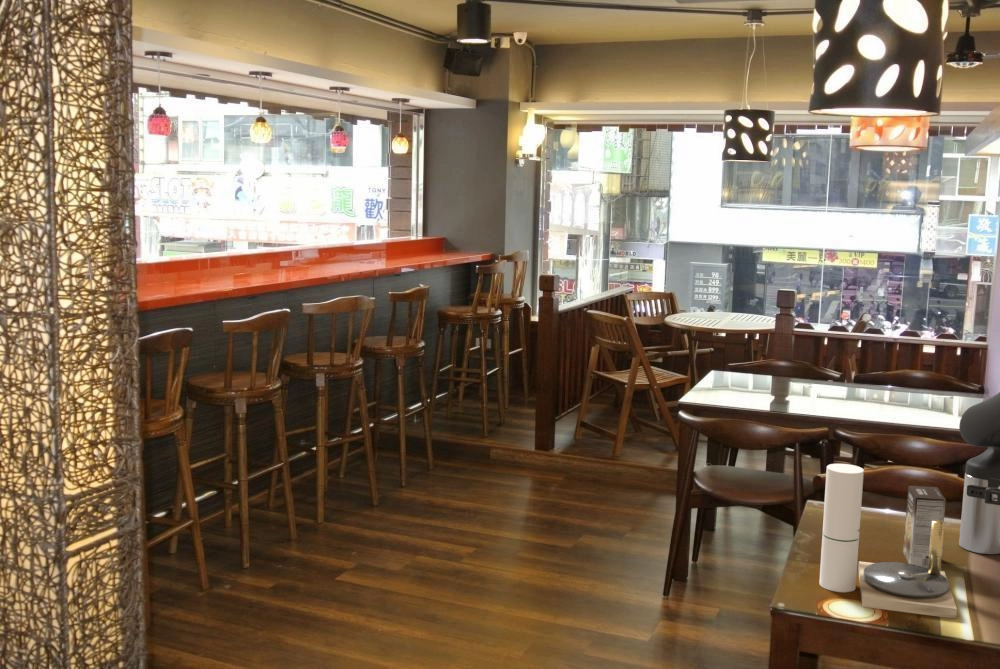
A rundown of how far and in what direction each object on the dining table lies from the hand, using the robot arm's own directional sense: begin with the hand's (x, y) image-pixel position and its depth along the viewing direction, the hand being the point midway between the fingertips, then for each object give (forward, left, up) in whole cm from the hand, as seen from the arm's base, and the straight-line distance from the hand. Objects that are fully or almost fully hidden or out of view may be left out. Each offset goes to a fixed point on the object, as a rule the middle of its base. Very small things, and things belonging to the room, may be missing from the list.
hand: (978, 486), depth 198 cm
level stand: (0, -12, -24) cm, 27 cm away
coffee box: (-20, -7, -24) cm, 32 cm away
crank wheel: (0, -12, -21) cm, 24 cm away
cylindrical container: (0, -25, -24) cm, 35 cm away
